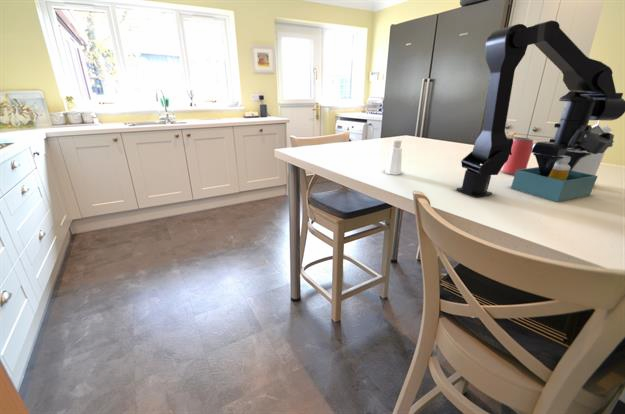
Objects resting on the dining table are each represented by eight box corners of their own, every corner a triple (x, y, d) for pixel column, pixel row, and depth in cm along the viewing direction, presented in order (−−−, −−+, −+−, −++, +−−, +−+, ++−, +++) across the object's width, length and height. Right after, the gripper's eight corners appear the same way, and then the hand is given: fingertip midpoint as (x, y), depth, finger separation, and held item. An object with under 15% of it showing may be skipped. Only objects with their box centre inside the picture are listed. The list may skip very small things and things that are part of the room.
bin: (557, 202, 73) (564, 181, 71) (510, 188, 83) (516, 169, 81) (589, 195, 79) (597, 176, 77) (542, 182, 89) (548, 165, 87)
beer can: (524, 177, 95) (536, 140, 90) (501, 173, 98) (511, 138, 94) (523, 172, 100) (534, 138, 96) (501, 170, 103) (511, 136, 99)
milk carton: (559, 183, 89) (582, 120, 82) (561, 178, 94) (583, 119, 86) (590, 188, 84) (617, 122, 77) (590, 183, 89) (615, 120, 82)
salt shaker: (398, 170, 100) (402, 139, 95) (403, 174, 95) (408, 141, 90) (383, 170, 99) (386, 138, 95) (387, 174, 94) (391, 141, 90)
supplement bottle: (566, 193, 78) (579, 158, 74) (544, 192, 79) (556, 157, 75) (554, 187, 83) (566, 154, 79) (534, 186, 84) (545, 153, 80)
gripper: (592, 124, 63) (567, 190, 69) (634, 122, 70) (608, 182, 76) (539, 119, 73) (521, 178, 79) (580, 118, 80) (561, 172, 86)
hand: (554, 178), depth 79 cm, fingers open, 9 cm apart
